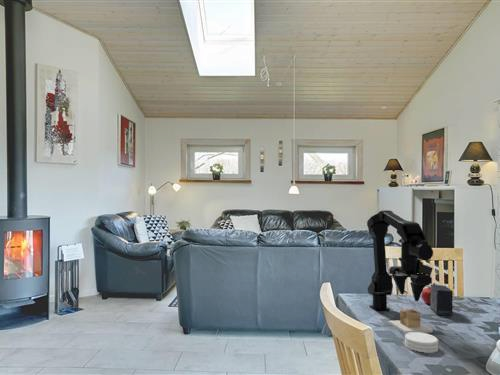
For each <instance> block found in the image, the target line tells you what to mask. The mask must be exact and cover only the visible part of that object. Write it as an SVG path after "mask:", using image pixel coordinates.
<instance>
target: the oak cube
mask: <svg viewBox="0 0 500 375" xmlns="http://www.w3.org/2000/svg"><path fill="white" fill-rule="evenodd" d="M399 311H400V312H399V320H400V323H401V324H403V325H404V326H406V327H408V328H411V327H420V323H421V312H418V311H417V310H415V309H413V308H410V309H399Z"/></svg>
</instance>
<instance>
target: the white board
mask: <svg viewBox="0 0 500 375" xmlns="http://www.w3.org/2000/svg"><path fill="white" fill-rule="evenodd" d="M388 324H389V325H390V326H391V327H393V328H395V329H397V330H398V331H400V333H401V332H402V333H403V334H404V335H405V334H407V333H409V332H422V333H427V334H430V333H434V329H432V328H431V327H429V326H427V325H425V324H423V323H422V322H420V327H411V328H408V327H406V326H404V325H403V324H401V323H400V319H397V320H388Z"/></svg>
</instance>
